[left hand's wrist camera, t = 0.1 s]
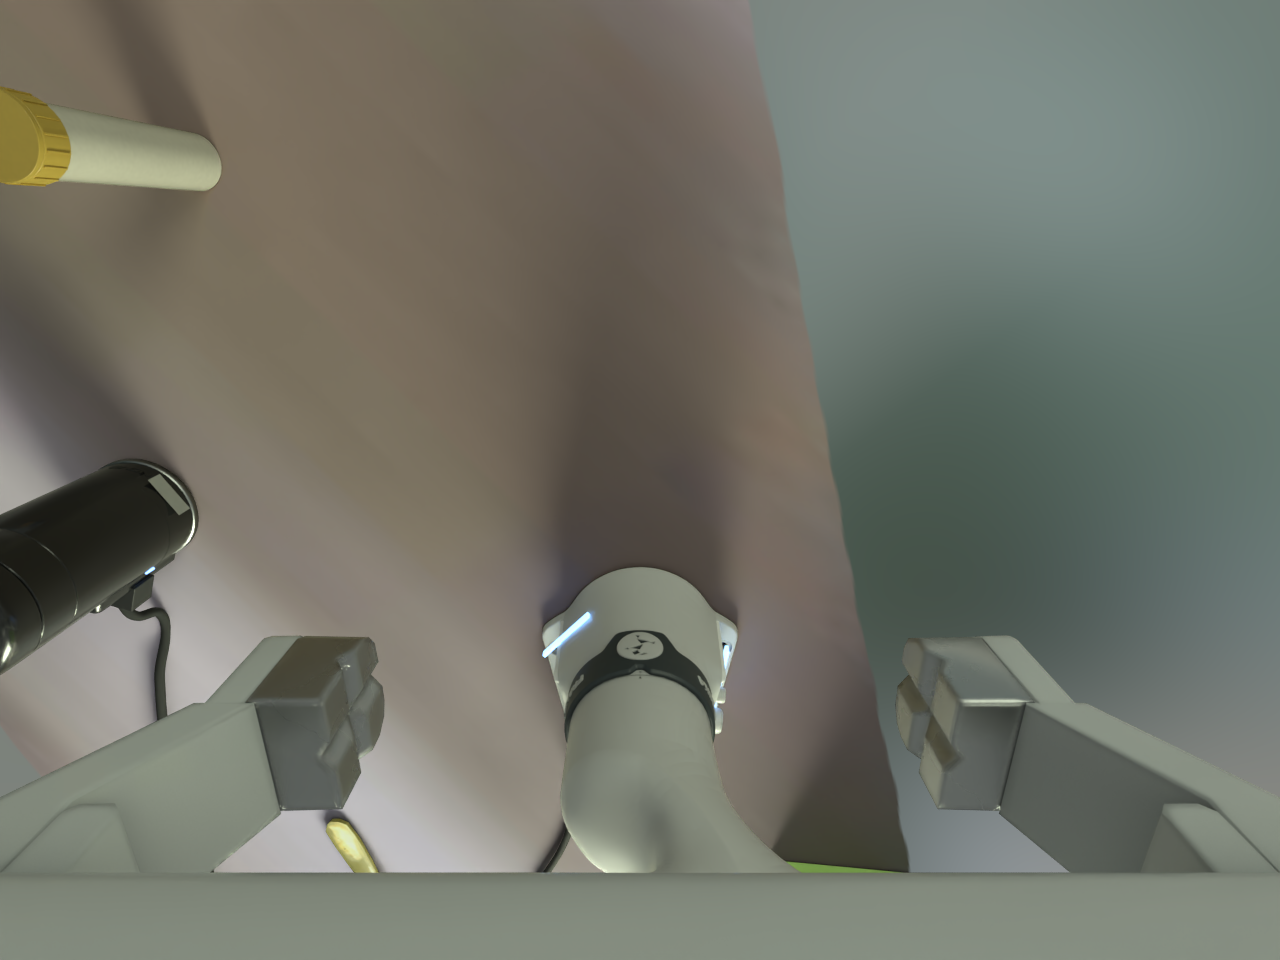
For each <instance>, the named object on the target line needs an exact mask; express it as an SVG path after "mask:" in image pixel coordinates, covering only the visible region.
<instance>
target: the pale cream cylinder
mask: <svg viewBox="0 0 1280 960" xmlns="http://www.w3.org/2000/svg"><path fill="white" fill-rule="evenodd" d="M46 104H47V105H48V106H49V107H50V108H51V109H52V110H53V111H54V112H55V114H56V115H57V116H58V117H59V118H60V119H61V122H62V123H63V125H64V127H65V129H66V131H67V134H68V136H69V140H70V145H71V159H70V164H69V167H68V170H67V171H66V172H65V174H64V175H63V176H62V177H61V178H60V179H59V181H63V182H77V183H91V184H105V185H119V186H133V187H147V188H161V189H174V190H188V191H206V190H209V189H211V188H212V187H214V186H215V185H216V184H217V182H218V181H219V178H220V175H221V161H220V157H219V155H218V153H217V151H216V149H215V148H214V146H213V145H212V144H211V143H210V142H209V141H208V140H207V139H206V138H204V137H203V136H201V135H199V134H196V133H192V132H187V131H183V130H178V129H173V128H168V127H163V126H158V125H153V124H148V123H143V122H138V121H133V120H128V119H123V118H118V117H113V116H108V115H103V114H98V113H94V112H89V111H84V110H79V109H74V108H69V107H64V106H59V105H54V104H49V103H46Z"/></svg>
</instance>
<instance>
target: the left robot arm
mask: <svg viewBox="0 0 1280 960" xmlns="http://www.w3.org/2000/svg"><path fill="white" fill-rule="evenodd" d="M542 637H543V642H544V645H545V649H546V650H545V651H544V652H543V656H544V657H546V656H547V655H548V659H549V662H550V666H551V669H552V673H553V676H554V680H555V683H556V686H557V690H558V693H559V697H560V700H561V704H562V707H563V710H564V719H565V737H566V742H567V749H566V756H565V763H564V770H563V778H562V785H561V792H560V804H561V812H562V816H563V819H564V822H565V825H566V830H565V833H564V836H563V839H562V841H561V843H560V845H559V847H558V849H557V851H556V853H555V855H554V856H553V858H552V859H551V861H550V863H549V864H548V866H547V867H546V869H545V870H544V872H543V873H210V872H211V871H212V870H214V869H215V868H216V867H217V866H218V865H220V864H221V863H222V862H223V861H225V860H226V859H227V858H228V857H229V856H231V855H232V854H233V853H234V852H235V851H237V850H238V849H239V848H240V847H241V846H243V845H244V844H245V843H246V842H248V841H249V840H250V839H251V838H252V837H254V836H255V835H256V834H257V833H258V832H260V831H261V830H262V829H263V828H264V827H266V826H267V825H268V824H269V823H271V822H272V821H273V820H274V819H275V818H277V817H278V816H279V815H280V814H281V812H280V811H291V810H325V809H343V807H344V805H345V803H346V801H347V799H348V797H349V795H350V793H351V791H352V789H353V787H354V785H355V783H356V781H357V780H358V778H359V776H360V774H361V769H360V764H359V759H360V758H361V757H363V756H364V755H366V754H367V753H369V752H370V751H371V750H373V748H374V746H375V744H376V742H377V740H378V738H379V735H380V732H381V727H382V723H383V718H384V694H383V687H382V685H381V684H380V683H379V682H378V681H377V680H376V679H375V678H374V677H373V676H372V675H371V673H372V671H373V670H374V668H375V666H376V665H377V663H378V657H377V652H376V647H375V643H374V642H373V641H372V640H371V639H370V638H369V637H330V636H304V637H303V636H271V637H268V638H264V639H263V640H262V641H261V642H260V644H259V645H258V646H257V647H256V648H255V649H254V650H253V651H252V652H251V653H250V654H249V656H248V657H247V658H246V659H245V660H244V661H243V662H242V663H241V664H240V665H239V666H238V668H237V669H236V670H235V671H234V672H233V673H232V674H231V675H230V676H229V677H228V678H227V680H226V681H225V682H224V683H223V684H222V685H221V686H220V687H219V688H218V689H217V690H216V692H215V693H214V694H213V695H212V696H211V697H210V698H209V699H208V700H207V701H206V702H205V703H193V704H191V705H189V706H187V707H185V708H183V709H181V710H179V711H177V712H175V713H173V714H171V715H169V716H167V717H164V718H162V719H160V720H158V721H156V722H154V723H152V724H150V725H148V726H146V727H144V728H142V729H140V730H138V731H136V732H134V733H132V734H130V735H127V736H125V737H123V738H121V739H119V740H117V741H115V742H113V743H111V744H109V745H107V746H105V747H103V748H101V749H99V750H97V751H95V752H93V753H90V754H88V755H86V756H84V757H82V758H80V759H78V760H76V761H74V762H72V763H70V764H68V765H66V766H64V767H62V768H60V769H58V770H55V771H53V772H51V773H49V774H47V775H45V776H43V777H41V778H39V779H37V780H35V781H33V782H31V783H29V784H27V785H25V786H23V787H21V788H19V789H16V790H14V791H12V792H10V793H8V794H6V795H4V796H2V797H0V960H1280V798H1279V797H1277V796H1275V795H1273V794H1271V793H1269V792H1267V791H1265V790H1263V789H1261V788H1259V787H1257V786H1255V785H1253V784H1251V783H1249V782H1247V781H1245V780H1243V779H1241V778H1238V777H1236V776H1234V775H1232V774H1230V773H1228V772H1226V771H1224V770H1222V769H1220V768H1218V767H1216V766H1214V765H1212V764H1210V763H1208V762H1206V761H1204V760H1202V759H1200V758H1197V757H1195V756H1193V755H1191V754H1189V753H1187V752H1185V751H1183V750H1181V749H1179V748H1177V747H1175V746H1173V745H1171V744H1169V743H1167V742H1165V741H1163V740H1161V739H1159V738H1156V737H1154V736H1152V735H1150V734H1148V733H1146V732H1144V731H1142V730H1140V729H1138V728H1136V727H1134V726H1132V725H1130V724H1128V723H1126V722H1124V721H1122V720H1120V719H1117V718H1115V717H1113V716H1111V715H1109V714H1107V713H1105V712H1103V711H1101V710H1099V709H1097V708H1095V707H1093V706H1091V705H1089V704H1087V703H1075V702H1074V701H1073V700H1072V699H1071V698H1070V697H1069V696H1068V695H1067V694H1066V693H1065V692H1064V690H1063V689H1062V688H1061V687H1060V686H1059V685H1058V684H1057V683H1056V682H1055V681H1054V680H1053V678H1052V677H1051V676H1050V675H1049V674H1048V673H1047V672H1046V671H1045V670H1044V669H1043V667H1042V666H1041V665H1040V664H1039V663H1038V662H1037V661H1036V660H1035V659H1034V658H1033V657H1032V655H1031V654H1030V653H1029V652H1028V651H1027V650H1026V649H1025V648H1024V647H1023V646H1022V645H1021V643H1020V642H1019V641H1018V640H1017V639H1015V638H1013V637H1011V636H1008V635H1004V636H976V637H950V638H909V639H908V640H907V643H906V645H905V647H904V651H903V657H902V663H903V665H904V666H905V668H906V670H907V671H908V673H909V675H908V676H907V677H906V678H905V679H904V680H903V681H902V682H901V683H900V684H899V685H898V688H897V696H896V704H895V706H896V717H897V725H898V728H899V731H900V735H901V738H902V740H903V742H904V744H905V746H906V748H907V750H909V751H910V752H911V753H913V754H914V755H916V756H917V757H919V758H920V759H921V764H920V769H919V774H920V776H921V778H922V779H923V781H924V783H925V785H926V787H927V789H928V791H929V793H930V795H931V797H932V799H933V801H934V803H935V805H936V807H937V808H938V809H953V810H989V811H990V810H991V811H1000V812H999V814H1000V815H1001V816H1003V817H1004V818H1005V819H1006V820H1007V821H1009V822H1010V823H1011V824H1012V825H1013V826H1015V827H1016V828H1017V829H1018V830H1019V831H1021V832H1022V833H1023V834H1024V835H1026V836H1027V837H1028V838H1029V839H1030V840H1032V841H1033V842H1034V843H1035V844H1036V845H1038V846H1039V847H1040V848H1041V849H1042V850H1044V851H1045V852H1046V853H1047V854H1048V855H1050V856H1051V857H1052V858H1053V859H1054V860H1056V861H1057V862H1058V863H1059V864H1061V865H1062V866H1063V867H1064V868H1065V869H1067V870H1068V871H1069V872H1070V873H801V872H800V871H798V870H797V869H795V868H794V867H792V866H791V865H790V864H788V863H787V862H785V861H784V860H783V859H781V858H780V857H779V856H778V855H777V854H775V853H774V852H773V851H772V850H771V849H770V848H768V847H767V846H766V845H765V844H764V843H763V842H762V841H761V840H760V839H759V838H758V837H757V836H756V835H755V834H754V833H753V832H752V831H751V830H750V828H749V827H748V826H747V825H746V824H745V823H744V822H743V820H742V819H741V818H740V817H739V815H738V814H737V813H736V811H735V810H734V808H733V807H732V805H731V804H730V802H729V800H728V798H727V796H726V794H725V791H724V788H723V785H722V782H721V778H720V774H719V770H718V766H717V762H716V757H715V752H714V747H713V742H714V737H715V734H718V733H720V732H721V729H722V724H723V712H722V709H720V708H717V707H718V704H719V703H724V702H725V698H726V689H725V688H723V686H724V683H725V681H726V676H727V673H728V669H729V666H730V662H731V659H732V656H733V652H734V649H735V645H736V642H737V637H738V635H737V627H736V626H735V624H734V623H733V622H731V621H730V620H729V619H727V618H725V617H724V616H722V615H720V614H718V613H717V612H715V611H714V610H713V609H712V608H711V607H710V606H709V604H708V603H707V602H706V600H705V599H704V597H703V596H702V595H701V594H700V592H699V591H698V590H697V589H696V588H695V587H694V586H692V585H691V584H690V583H689V582H687V581H686V580H684V579H683V578H681V577H679V576H677V575H675V574H673V573H670V572H667V571H664V570H660V569H655V568H648V567H632V568H625V569H620V570H616V571H613V572H610V573H607V574H605V575H603V576H601V577H599V578H597V579H596V580H594V581H593V582H591V583H590V584H589V585H588V586H586V587H585V588H584V589H583V590H582V591H581V592H580V594H579V595H578V596H577V597H576V599H575V600H574V602H573V603H572V604H571V606H570V607H569V608H568V609H567V610H566V611H565V612H563V613H562V614H560V615H558V616H556V617H555V618H553V619H552V620H550V621H549V622H547V623H546V624H545V626H544V628H543V636H542ZM722 642H724V643H726V644H725V645H722ZM570 836H572V838H573V840H574V841H575V843H576V844H577V846H578V847H579V849H580V850H581V851H582V853H583V854H584V855H585V856H586V857H587V859H588V860H589V861H590V862H591V863H593V864H594V865H595V866H596V867H598V868H599V869H601V870H602V871H604V872H605V873H551V871H552V870H553V868H554V867H555V865H556V864H557V862H558V860H559V859H560V857H561V855H562V854H563V852H564V850H565V848H566V846H567V844H568V842H569V839H570Z"/></svg>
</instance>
